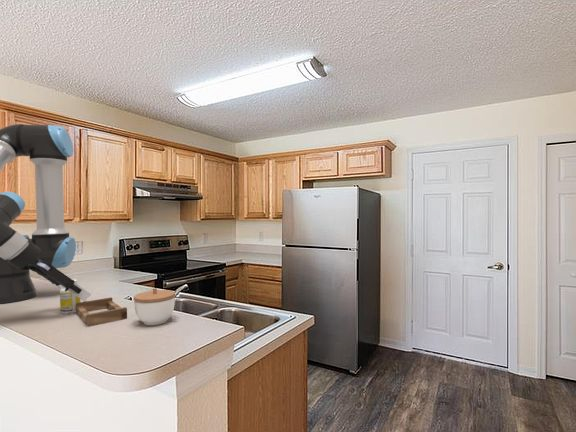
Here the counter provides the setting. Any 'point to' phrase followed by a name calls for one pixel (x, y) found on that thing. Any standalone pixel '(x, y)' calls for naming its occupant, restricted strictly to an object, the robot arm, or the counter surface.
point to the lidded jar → (154, 306)
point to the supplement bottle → (68, 300)
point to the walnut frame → (100, 317)
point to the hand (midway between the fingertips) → (82, 296)
